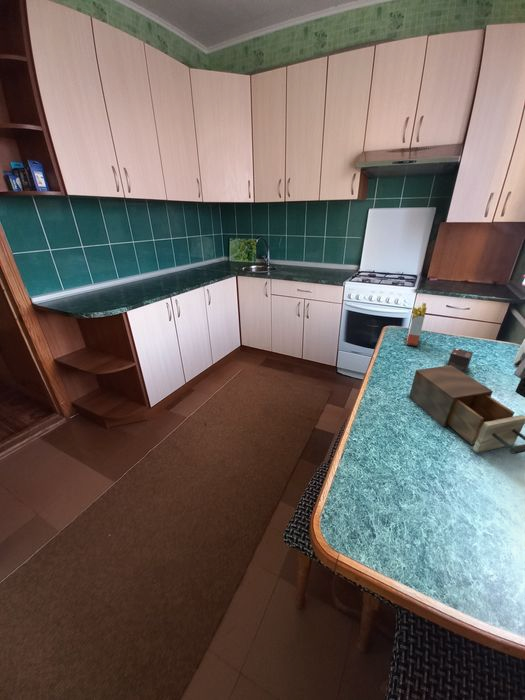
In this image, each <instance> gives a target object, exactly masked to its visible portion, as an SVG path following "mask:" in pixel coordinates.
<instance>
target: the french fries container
mask: <svg viewBox="0 0 525 700" xmlns="http://www.w3.org/2000/svg"><path fill="white" fill-rule="evenodd" d="M426 312H427V303H426V302H422V304H421V306H419V305H418V306H417V307H413V308H412V316H411V320H410V325H409V328H408V333H407V338H406V345H407V346H412V347H413V346H414V347H418V345H419V340H420V336H421V334H422V333H421V332H422V329H423V325H424V320H425V317H426Z"/></svg>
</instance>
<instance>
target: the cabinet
mask: <svg viewBox="0 0 525 700" xmlns="http://www.w3.org/2000/svg"><path fill="white" fill-rule="evenodd" d="M485 394H487V395H488V396H490V397H491V398H492V394H493V390H492V389H490V388H489V387H487V386H485V385H484V384H482V383H481V382H479V381H478V380H476V379H475V378H472V377H471V376H469V375H468V374H467V373H463V372H461V371H460V370H458V369H457V368H455V367H453V366H452V365H442V366H441V365H440V366H433V367H428V368H421V369H415V372H414V376H413V381H412V384H411V388H410V391H409V395H408V397H409V398H410V399H411V400H412V401H413V402H414V403H415V404H417V405H418V407H420V408H421V409H422V410H423V411H424V412H426V413H427V414H428V415H429V416H430V417H431V418H432V419H433V420H434V421H436V422H437V423H438V424H439V425H440V426H442V427H443V428H445V427H450V426H449V425H448V424H447V422H448V419H449V416H450V413H451V410H452V407H453V405H454V402H455V400H457V399H462V398H468V397H474V396H480V395H485Z"/></svg>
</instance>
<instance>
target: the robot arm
mask: <svg viewBox="0 0 525 700" xmlns="http://www.w3.org/2000/svg"><path fill="white" fill-rule="evenodd" d="M513 367H514V368H516V369H515V371H514V372H513V376H515V377H517V378H519V379H520V380H519V382H518V384H517V386H516V389H515V393H516V394H517V395H519V396H521V397H522V398H524V399H525V338H524V339H523V341H522V343H521V345H520V347H519V348H518V350H517V353H516V355H515V358H514V361H513Z"/></svg>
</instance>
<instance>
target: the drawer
mask: <svg viewBox="0 0 525 700" xmlns="http://www.w3.org/2000/svg"><path fill="white" fill-rule="evenodd" d="M514 415H515V412H514V411H513V410H511V409H510V408H508V407H507V406H506V405H504V404H503V403H501V402H499V401H497V400H496V399H494V398H493V397H492V396H491V397H490V396H488V395H487V394H485V395H480V396H474V397H468V398H462V399H457V400H455V402H454V405H453V407H452V410H451V413H450V416H449V419H448V422H447V424H448V425H449V426H448V427H450V428H452V429H453V430H454V431H455V432H456V433H457V434H459V436H461V437H462V438H463V439H464V440H465V441H466V442H468V443H469V444H471V445H472V444H473V447H472V450H473V451H474V452H475V453H481V452H485V451H491V450H495V449H496V450H497V449H501V448H505V447H506V448H507V449H508V451H509V453H510V454H511V455H517V454H522V453H525V443H524V444H520V445H519V444H518V445H515V443H516V441H517V439H518V438H520V439H522V440H524V441H525V435H524V434H523V433H521V432H522V429H523V428H524V426H525V415H524V414H519V415H515V416H514Z"/></svg>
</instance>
